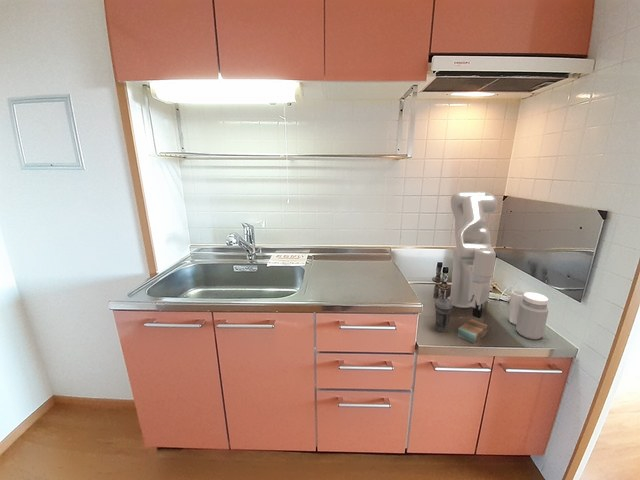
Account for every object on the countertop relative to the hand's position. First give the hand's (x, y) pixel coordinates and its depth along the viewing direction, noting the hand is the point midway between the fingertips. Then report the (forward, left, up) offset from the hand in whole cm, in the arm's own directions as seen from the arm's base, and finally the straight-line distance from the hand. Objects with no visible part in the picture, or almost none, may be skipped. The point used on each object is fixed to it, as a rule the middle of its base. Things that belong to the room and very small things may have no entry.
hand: (476, 316), depth 120 cm
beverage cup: (+8, -11, -8) cm, 16 cm away
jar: (-17, +15, -8) cm, 24 cm away
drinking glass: (-23, +8, -8) cm, 26 cm away
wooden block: (-4, 0, -6) cm, 7 cm away
